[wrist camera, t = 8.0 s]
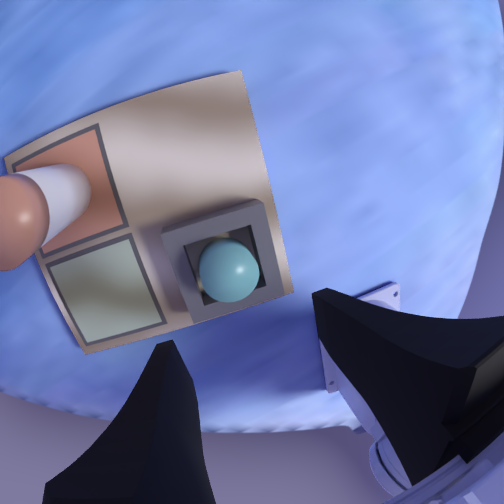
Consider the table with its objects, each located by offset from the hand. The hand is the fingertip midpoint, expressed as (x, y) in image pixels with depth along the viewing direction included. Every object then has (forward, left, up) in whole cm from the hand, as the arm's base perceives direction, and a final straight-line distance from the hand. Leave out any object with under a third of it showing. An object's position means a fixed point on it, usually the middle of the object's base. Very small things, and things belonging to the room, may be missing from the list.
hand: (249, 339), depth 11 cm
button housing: (0, 0, -9) cm, 9 cm away
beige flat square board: (+3, +4, -10) cm, 12 cm away
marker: (+7, +8, -9) cm, 14 cm away
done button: (0, 0, -9) cm, 9 cm away
